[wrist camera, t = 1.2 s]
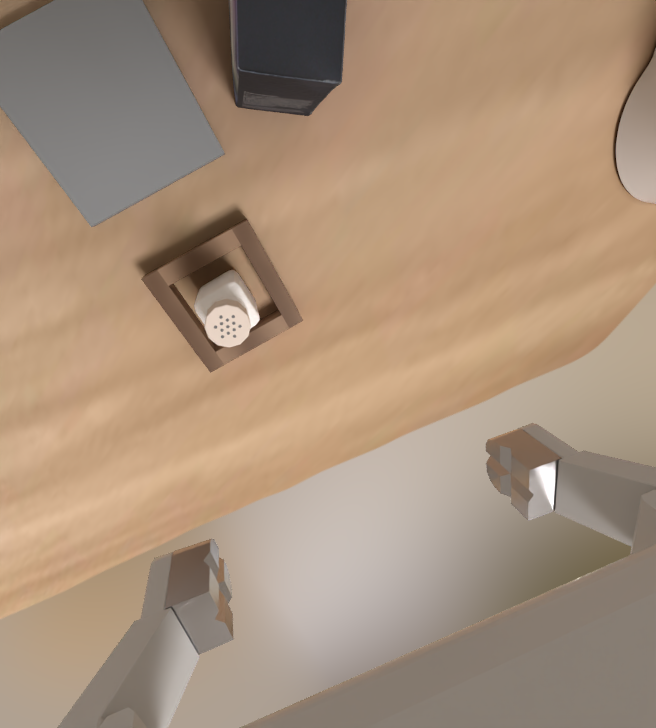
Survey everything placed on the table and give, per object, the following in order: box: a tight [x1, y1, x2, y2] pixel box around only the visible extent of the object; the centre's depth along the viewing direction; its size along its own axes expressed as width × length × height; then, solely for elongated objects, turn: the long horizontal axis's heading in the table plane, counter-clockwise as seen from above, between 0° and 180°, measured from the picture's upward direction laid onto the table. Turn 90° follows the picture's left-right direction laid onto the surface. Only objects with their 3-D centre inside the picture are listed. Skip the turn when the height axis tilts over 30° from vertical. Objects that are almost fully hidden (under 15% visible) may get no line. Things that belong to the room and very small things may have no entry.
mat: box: [0, 0, 225, 227], centre depth 28 cm, size 12×12×1 cm
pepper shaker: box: [194, 270, 260, 347], centre depth 31 cm, size 4×4×10 cm
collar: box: [142, 219, 303, 372], centre depth 35 cm, size 10×10×2 cm
